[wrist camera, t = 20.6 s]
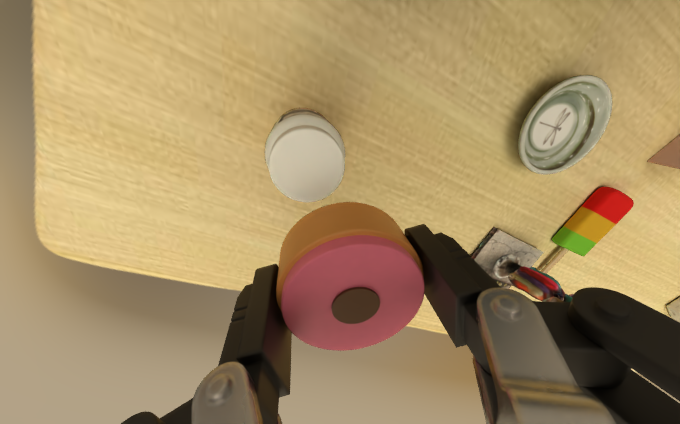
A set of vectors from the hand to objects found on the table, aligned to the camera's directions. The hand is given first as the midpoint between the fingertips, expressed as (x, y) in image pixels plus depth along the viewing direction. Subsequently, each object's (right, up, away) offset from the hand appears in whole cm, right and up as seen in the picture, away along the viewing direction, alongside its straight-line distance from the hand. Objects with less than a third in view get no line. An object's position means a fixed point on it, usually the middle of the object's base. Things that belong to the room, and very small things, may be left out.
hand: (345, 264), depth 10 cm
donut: (0, 0, 0) cm, 0 cm away
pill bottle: (-4, +9, +14) cm, 17 cm away
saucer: (+22, +12, +18) cm, 31 cm away
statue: (+21, -6, +26) cm, 34 cm away
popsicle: (+33, -1, +26) cm, 42 cm away
